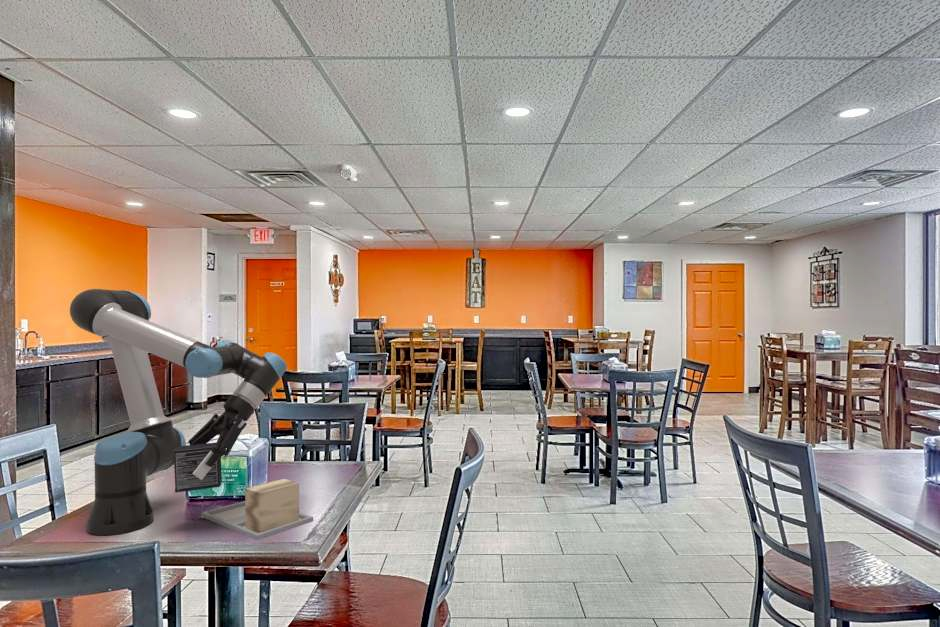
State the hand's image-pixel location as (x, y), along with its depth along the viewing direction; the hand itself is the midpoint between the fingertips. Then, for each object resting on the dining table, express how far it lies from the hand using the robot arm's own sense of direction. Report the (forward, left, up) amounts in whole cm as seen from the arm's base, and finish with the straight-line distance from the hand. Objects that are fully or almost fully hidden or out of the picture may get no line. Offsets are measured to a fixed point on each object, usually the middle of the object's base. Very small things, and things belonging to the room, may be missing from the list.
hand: (186, 473), depth 143 cm
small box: (0, +3, -4) cm, 5 cm away
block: (+14, +15, -14) cm, 25 cm away
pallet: (+7, +15, -16) cm, 23 cm away
